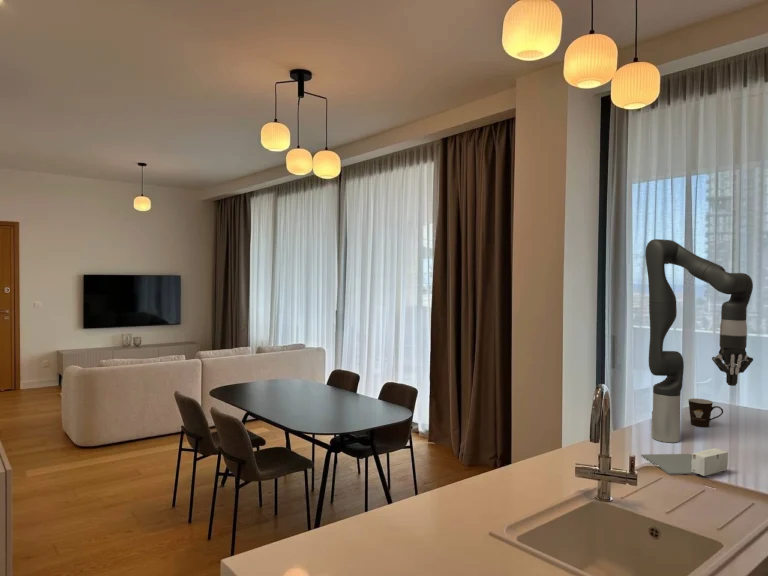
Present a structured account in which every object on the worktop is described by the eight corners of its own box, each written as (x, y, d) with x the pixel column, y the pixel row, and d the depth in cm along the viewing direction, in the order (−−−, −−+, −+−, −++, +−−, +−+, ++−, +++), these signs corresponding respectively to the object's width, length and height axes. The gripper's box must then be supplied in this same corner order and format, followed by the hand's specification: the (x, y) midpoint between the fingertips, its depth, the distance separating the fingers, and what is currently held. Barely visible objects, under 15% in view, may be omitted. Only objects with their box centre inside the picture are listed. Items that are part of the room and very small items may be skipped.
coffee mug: (683, 423, 225) (683, 399, 225) (696, 421, 229) (697, 397, 228) (710, 431, 215) (710, 406, 214) (724, 428, 218) (724, 403, 218)
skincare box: (727, 470, 171) (705, 477, 166) (713, 465, 175) (690, 472, 170) (728, 451, 171) (705, 457, 165) (713, 446, 175) (691, 453, 169)
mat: (641, 456, 186) (641, 454, 186) (689, 455, 186) (689, 453, 186) (669, 475, 169) (669, 473, 169) (722, 474, 170) (722, 472, 169)
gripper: (745, 331, 183) (743, 382, 184) (706, 331, 183) (705, 382, 184) (761, 334, 176) (759, 387, 177) (720, 334, 176) (719, 387, 176)
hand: (731, 385), depth 180 cm, fingers closed
